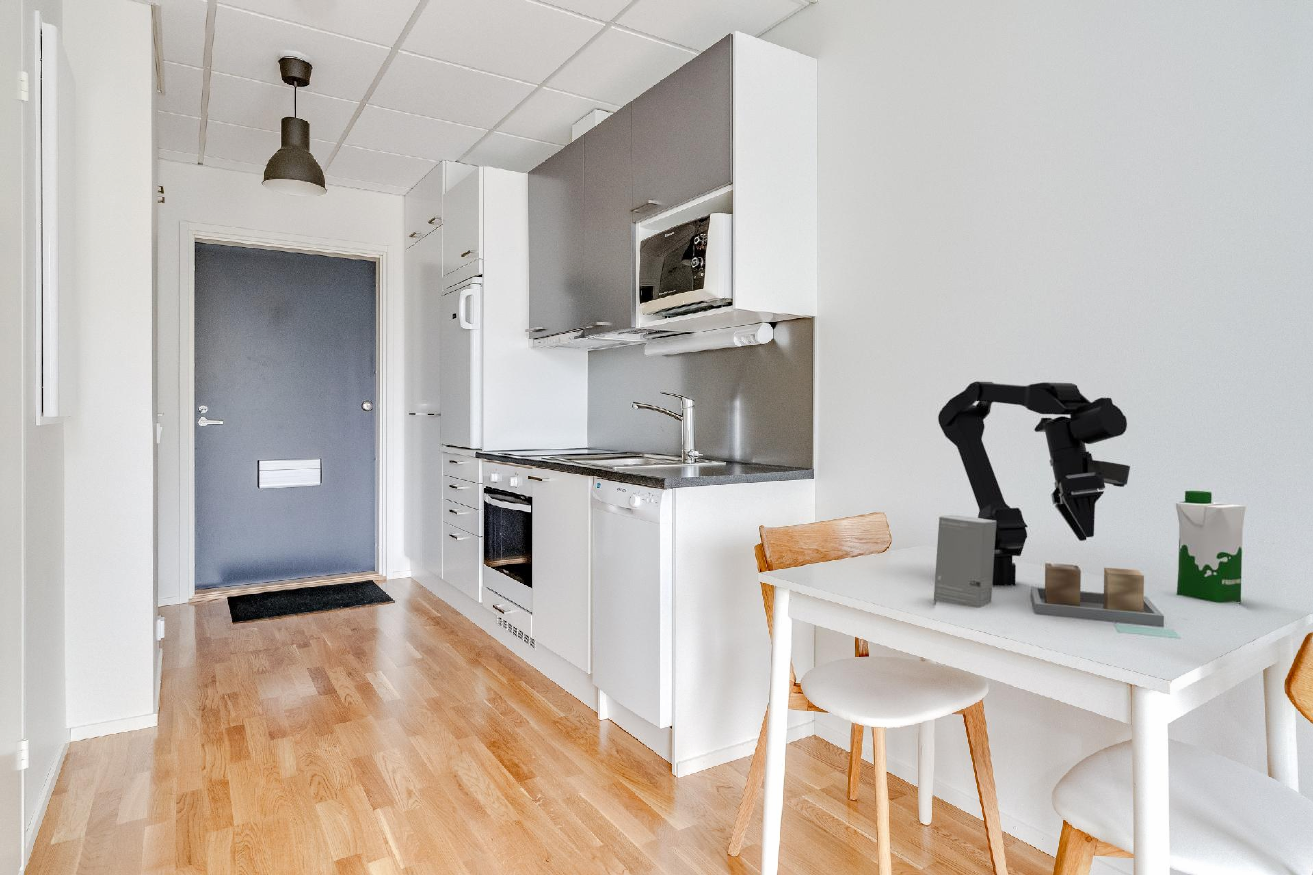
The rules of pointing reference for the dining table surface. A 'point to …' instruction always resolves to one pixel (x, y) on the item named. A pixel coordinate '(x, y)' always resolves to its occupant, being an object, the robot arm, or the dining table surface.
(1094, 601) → the tray
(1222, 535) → the milk carton
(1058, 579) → the walnut box
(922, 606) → the dining table surface
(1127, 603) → the oak box
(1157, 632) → the teal pad
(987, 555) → the skincare box
